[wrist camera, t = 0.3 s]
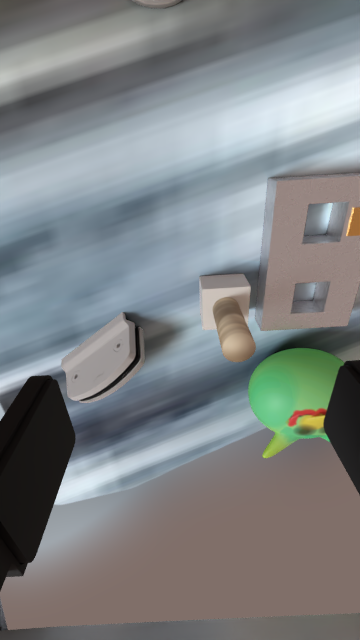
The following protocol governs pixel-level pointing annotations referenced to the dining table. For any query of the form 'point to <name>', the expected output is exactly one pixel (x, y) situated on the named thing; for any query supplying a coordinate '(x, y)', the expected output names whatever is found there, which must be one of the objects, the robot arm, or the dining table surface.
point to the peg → (233, 330)
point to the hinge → (104, 361)
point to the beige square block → (222, 295)
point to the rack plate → (309, 253)
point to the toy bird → (293, 394)
